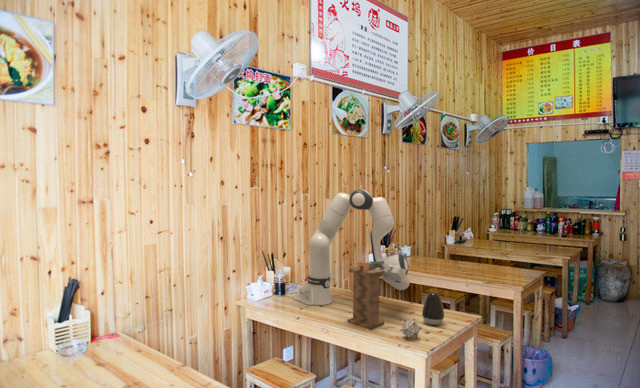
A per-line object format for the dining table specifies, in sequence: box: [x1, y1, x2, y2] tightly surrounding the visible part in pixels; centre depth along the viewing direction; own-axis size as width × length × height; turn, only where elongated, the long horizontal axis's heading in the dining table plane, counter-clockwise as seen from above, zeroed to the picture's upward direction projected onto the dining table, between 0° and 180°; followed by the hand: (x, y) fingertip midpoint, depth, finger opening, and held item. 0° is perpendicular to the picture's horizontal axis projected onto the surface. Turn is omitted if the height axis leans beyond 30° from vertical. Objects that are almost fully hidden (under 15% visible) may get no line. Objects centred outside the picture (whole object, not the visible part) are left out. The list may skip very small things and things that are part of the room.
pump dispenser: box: [421, 291, 445, 326], centre depth 208 cm, size 10×10×15 cm
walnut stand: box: [347, 266, 385, 331], centre depth 206 cm, size 14×10×26 cm
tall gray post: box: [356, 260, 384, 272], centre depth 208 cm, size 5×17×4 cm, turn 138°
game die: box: [399, 317, 423, 341], centre depth 189 cm, size 9×8×10 cm
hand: (376, 263), depth 211 cm, fingers open, 6 cm apart
